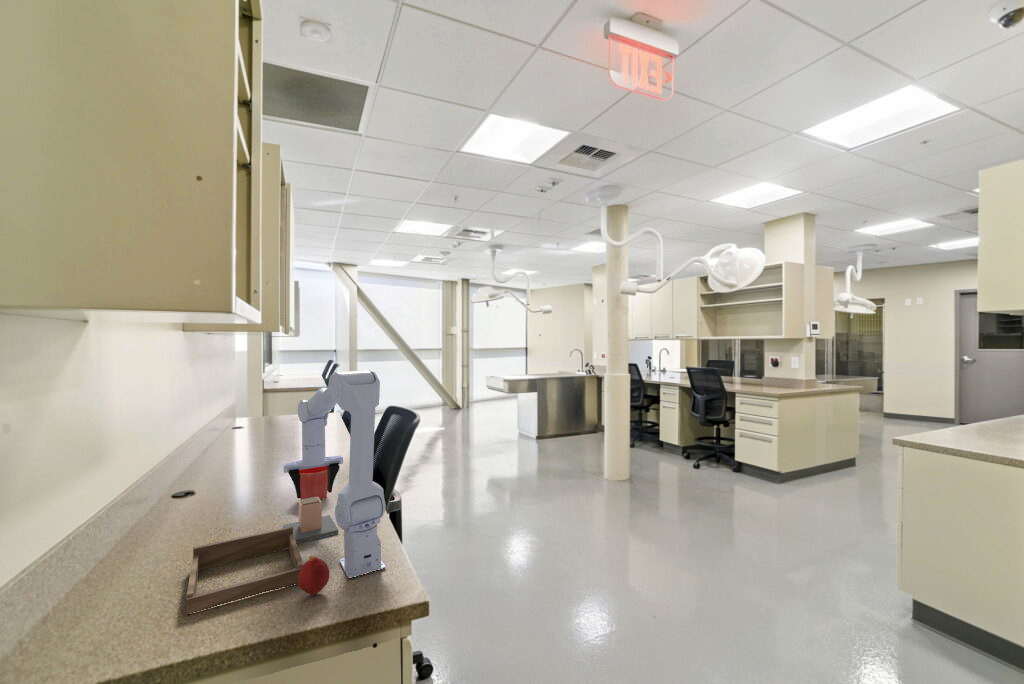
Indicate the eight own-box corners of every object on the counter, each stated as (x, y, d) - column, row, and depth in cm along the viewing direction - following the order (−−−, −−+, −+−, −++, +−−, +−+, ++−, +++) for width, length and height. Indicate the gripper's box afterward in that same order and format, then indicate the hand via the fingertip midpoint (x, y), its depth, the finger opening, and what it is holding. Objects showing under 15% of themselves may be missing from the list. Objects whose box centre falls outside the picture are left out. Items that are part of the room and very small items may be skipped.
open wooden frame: (304, 582, 92) (304, 558, 92) (186, 615, 81) (186, 589, 81) (292, 546, 109) (292, 526, 109) (193, 569, 98) (193, 547, 98)
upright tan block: (321, 528, 117) (321, 501, 117) (301, 533, 114) (300, 505, 114) (318, 522, 121) (318, 495, 121) (298, 526, 118) (298, 499, 118)
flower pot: (323, 503, 137) (322, 473, 137) (288, 504, 138) (288, 473, 138) (337, 492, 148) (336, 463, 148) (305, 492, 148) (304, 463, 148)
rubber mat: (338, 533, 116) (338, 529, 116) (287, 545, 109) (287, 541, 109) (329, 518, 126) (329, 515, 126) (282, 528, 119) (282, 525, 119)
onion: (321, 583, 92) (320, 545, 92) (335, 593, 88) (334, 553, 88) (292, 596, 87) (292, 556, 87) (306, 607, 84) (305, 565, 84)
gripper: (338, 437, 125) (339, 485, 125) (281, 445, 117) (282, 495, 117) (344, 442, 119) (345, 492, 119) (284, 450, 111) (285, 503, 111)
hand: (314, 494), depth 118 cm, fingers open, 7 cm apart
